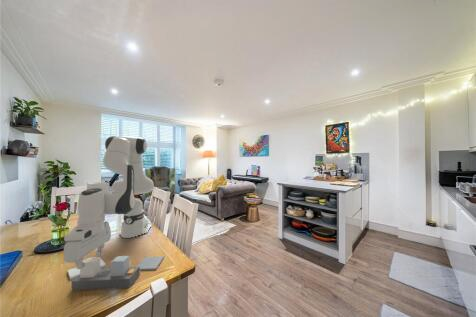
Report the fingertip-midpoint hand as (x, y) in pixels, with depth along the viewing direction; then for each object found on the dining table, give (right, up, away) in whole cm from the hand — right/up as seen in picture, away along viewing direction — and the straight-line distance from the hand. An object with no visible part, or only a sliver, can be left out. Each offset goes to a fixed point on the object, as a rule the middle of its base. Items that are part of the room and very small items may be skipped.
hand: (90, 261), depth 71 cm
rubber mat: (+18, -9, +13) cm, 24 cm away
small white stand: (-48, -11, +62) cm, 79 cm away
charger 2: (+12, -6, +1) cm, 13 cm away
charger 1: (0, -8, 0) cm, 8 cm away
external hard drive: (-10, -10, +9) cm, 17 cm away
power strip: (+7, -9, +1) cm, 11 cm away
